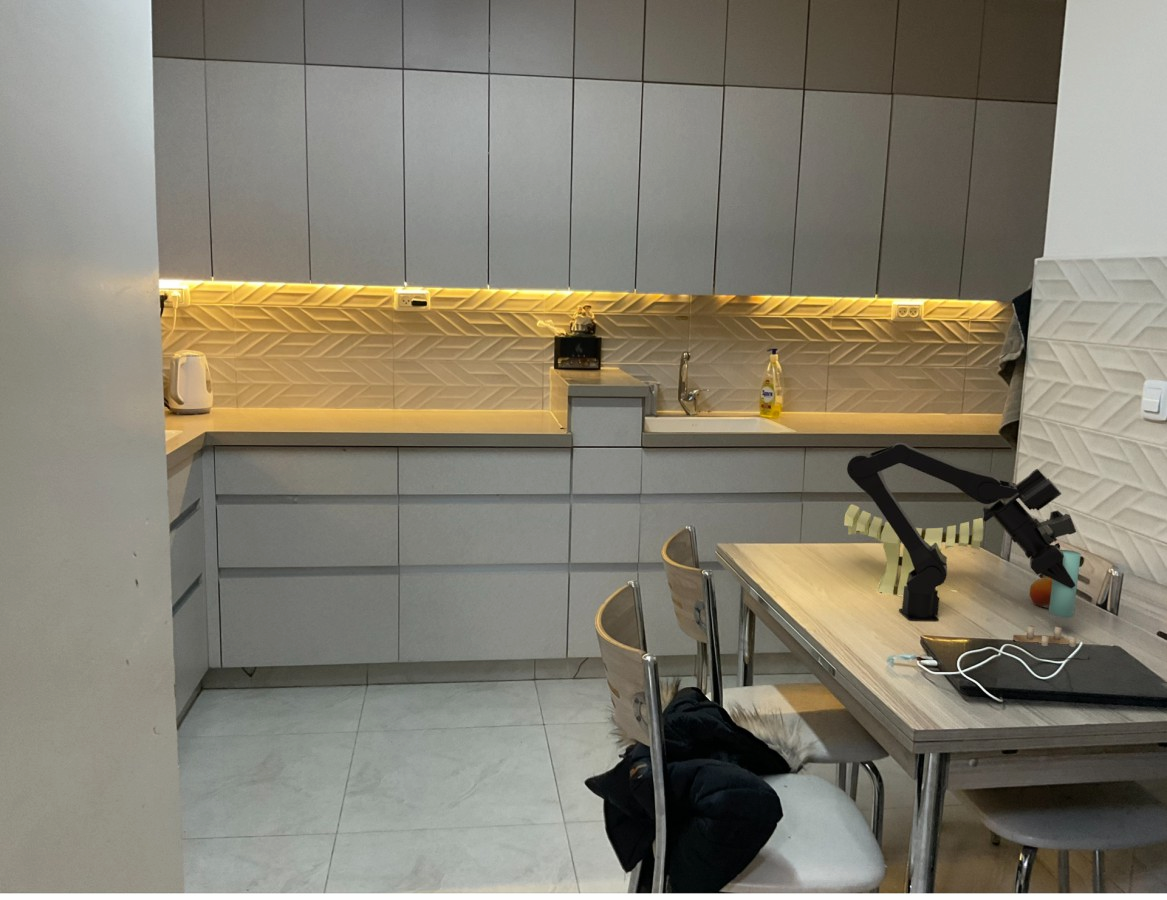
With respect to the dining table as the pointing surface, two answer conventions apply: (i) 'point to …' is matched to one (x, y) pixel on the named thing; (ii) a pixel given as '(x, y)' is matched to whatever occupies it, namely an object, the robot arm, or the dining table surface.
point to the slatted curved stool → (893, 546)
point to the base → (1045, 637)
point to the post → (1065, 587)
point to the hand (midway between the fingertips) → (1072, 583)
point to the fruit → (1041, 592)
